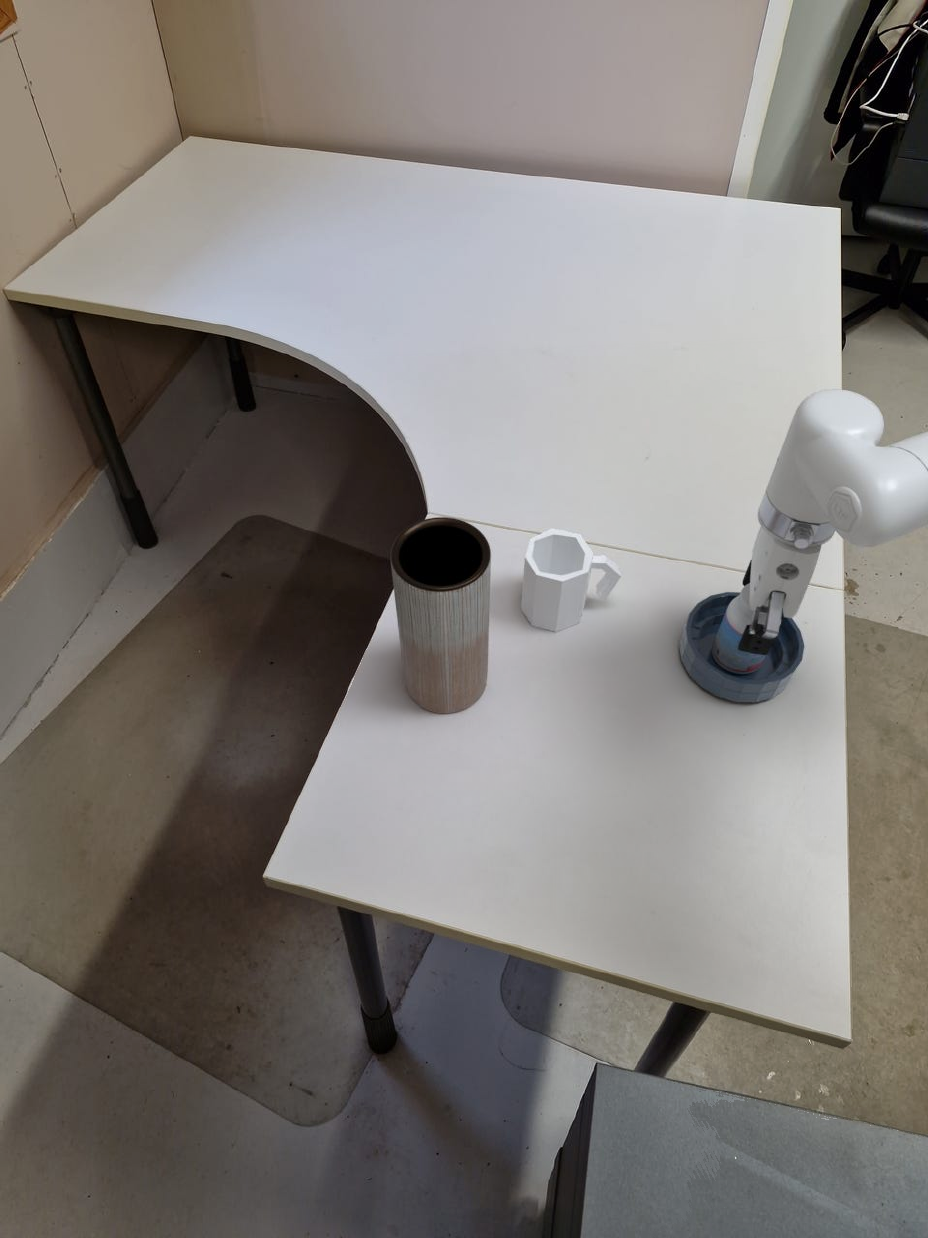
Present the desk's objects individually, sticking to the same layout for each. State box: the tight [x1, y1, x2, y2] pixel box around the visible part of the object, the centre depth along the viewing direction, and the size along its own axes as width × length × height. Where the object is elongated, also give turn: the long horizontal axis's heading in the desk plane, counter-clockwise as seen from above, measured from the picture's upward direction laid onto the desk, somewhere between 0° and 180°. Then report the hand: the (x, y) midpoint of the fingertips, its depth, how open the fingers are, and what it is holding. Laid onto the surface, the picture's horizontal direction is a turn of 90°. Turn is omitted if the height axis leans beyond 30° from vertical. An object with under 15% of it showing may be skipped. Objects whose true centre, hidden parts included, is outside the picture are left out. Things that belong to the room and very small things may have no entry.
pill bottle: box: [712, 583, 781, 674], centre depth 96 cm, size 6×6×11 cm
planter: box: [389, 516, 492, 714], centre depth 90 cm, size 10×10×23 cm
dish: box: [679, 591, 805, 703], centre depth 99 cm, size 14×14×4 cm
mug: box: [520, 527, 622, 633], centre depth 102 cm, size 12×9×10 cm
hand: (753, 617), depth 94 cm, fingers open, 9 cm apart
